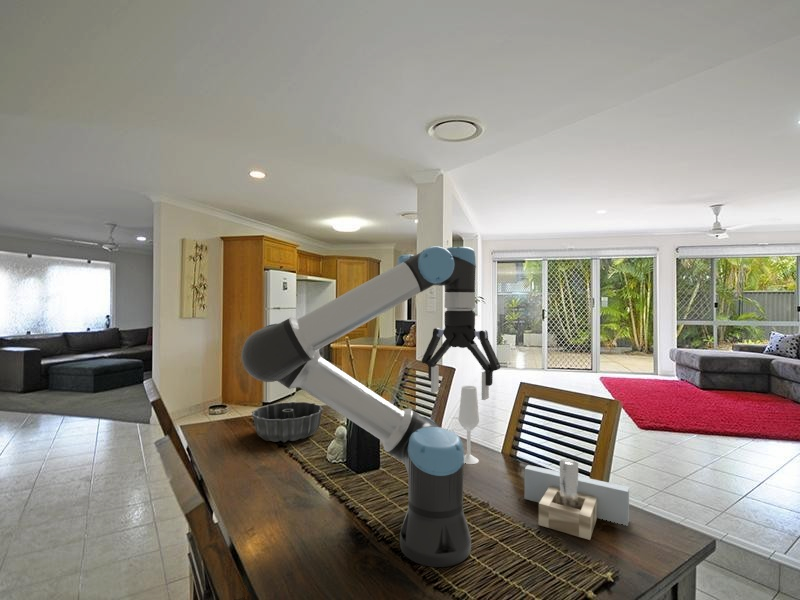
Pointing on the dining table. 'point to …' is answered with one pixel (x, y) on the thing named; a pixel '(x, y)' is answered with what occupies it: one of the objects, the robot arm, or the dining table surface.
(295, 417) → the bundt pan
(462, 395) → the champagne flute
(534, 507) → the dining table surface
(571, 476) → the metal peg
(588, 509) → the square wooden frame
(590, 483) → the wall
